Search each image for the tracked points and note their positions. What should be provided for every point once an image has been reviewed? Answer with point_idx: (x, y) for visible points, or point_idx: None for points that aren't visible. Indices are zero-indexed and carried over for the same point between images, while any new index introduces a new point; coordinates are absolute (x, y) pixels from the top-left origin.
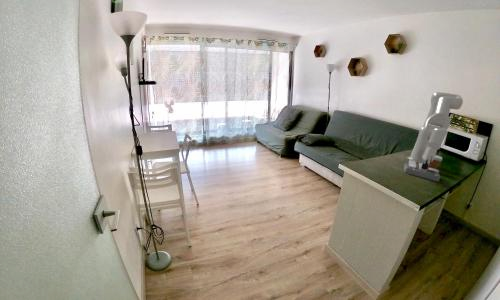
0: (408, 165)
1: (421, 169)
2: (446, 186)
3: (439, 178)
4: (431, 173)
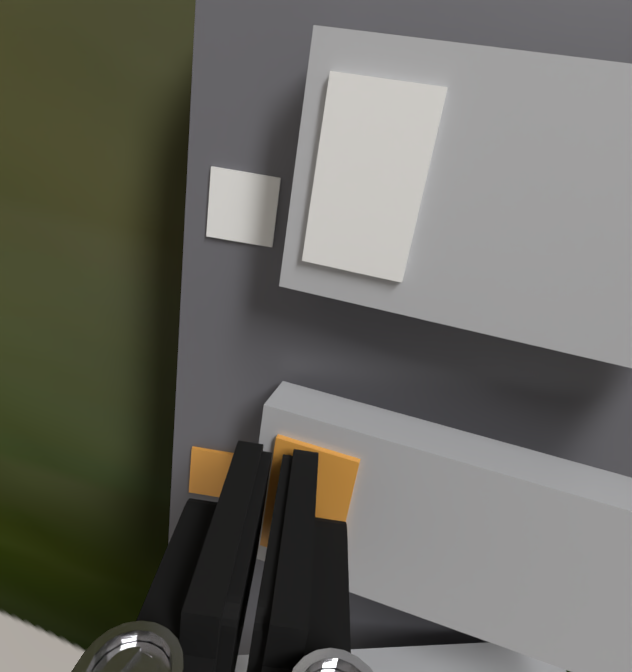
0: None
1: (267, 433)
2: (72, 630)
3: None
4: None
